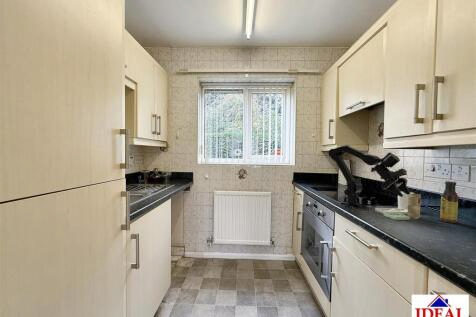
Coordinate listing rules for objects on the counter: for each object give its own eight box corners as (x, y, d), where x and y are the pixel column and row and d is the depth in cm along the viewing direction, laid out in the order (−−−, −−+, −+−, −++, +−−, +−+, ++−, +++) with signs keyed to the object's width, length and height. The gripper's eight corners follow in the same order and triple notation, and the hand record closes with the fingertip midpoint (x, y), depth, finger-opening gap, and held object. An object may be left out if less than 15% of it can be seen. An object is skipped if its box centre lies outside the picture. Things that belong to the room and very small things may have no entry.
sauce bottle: (439, 218, 121) (441, 180, 120) (456, 221, 117) (458, 181, 116) (440, 221, 116) (442, 181, 115) (457, 224, 112) (459, 182, 111)
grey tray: (390, 210, 135) (390, 208, 135) (403, 211, 136) (403, 208, 136) (400, 214, 127) (400, 211, 127) (415, 214, 128) (415, 212, 128)
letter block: (407, 216, 123) (408, 193, 123) (410, 215, 125) (411, 193, 125) (416, 218, 120) (418, 194, 119) (420, 217, 122) (421, 194, 122)
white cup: (406, 211, 135) (407, 194, 135) (393, 208, 143) (394, 191, 143) (416, 210, 137) (417, 193, 137) (404, 207, 145) (404, 191, 145)
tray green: (383, 215, 125) (383, 212, 125) (398, 215, 125) (398, 212, 125) (394, 219, 117) (394, 216, 117) (410, 220, 117) (410, 217, 117)
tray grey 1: (375, 210, 135) (375, 208, 135) (388, 210, 135) (388, 208, 135) (384, 214, 127) (384, 211, 127) (399, 214, 127) (399, 211, 127)
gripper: (388, 163, 124) (411, 187, 115) (404, 163, 135) (426, 185, 126) (372, 177, 131) (393, 200, 122) (388, 176, 141) (409, 197, 132)
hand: (406, 195), depth 125 cm, fingers open, 9 cm apart
